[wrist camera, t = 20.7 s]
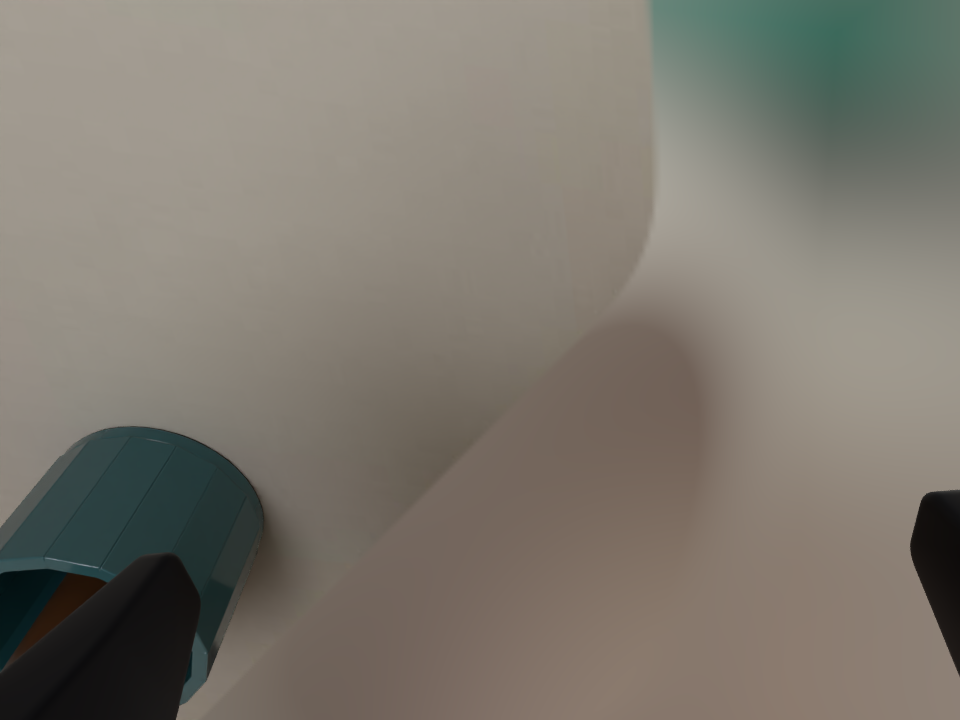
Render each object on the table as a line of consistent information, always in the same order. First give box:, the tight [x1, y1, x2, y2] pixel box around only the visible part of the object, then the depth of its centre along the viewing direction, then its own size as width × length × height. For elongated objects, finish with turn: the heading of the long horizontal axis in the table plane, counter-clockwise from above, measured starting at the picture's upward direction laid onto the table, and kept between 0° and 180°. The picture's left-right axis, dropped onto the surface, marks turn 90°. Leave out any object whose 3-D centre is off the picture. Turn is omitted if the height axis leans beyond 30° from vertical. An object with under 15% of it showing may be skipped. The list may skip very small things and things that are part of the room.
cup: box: [0, 427, 264, 705], centre depth 24 cm, size 8×8×6 cm
